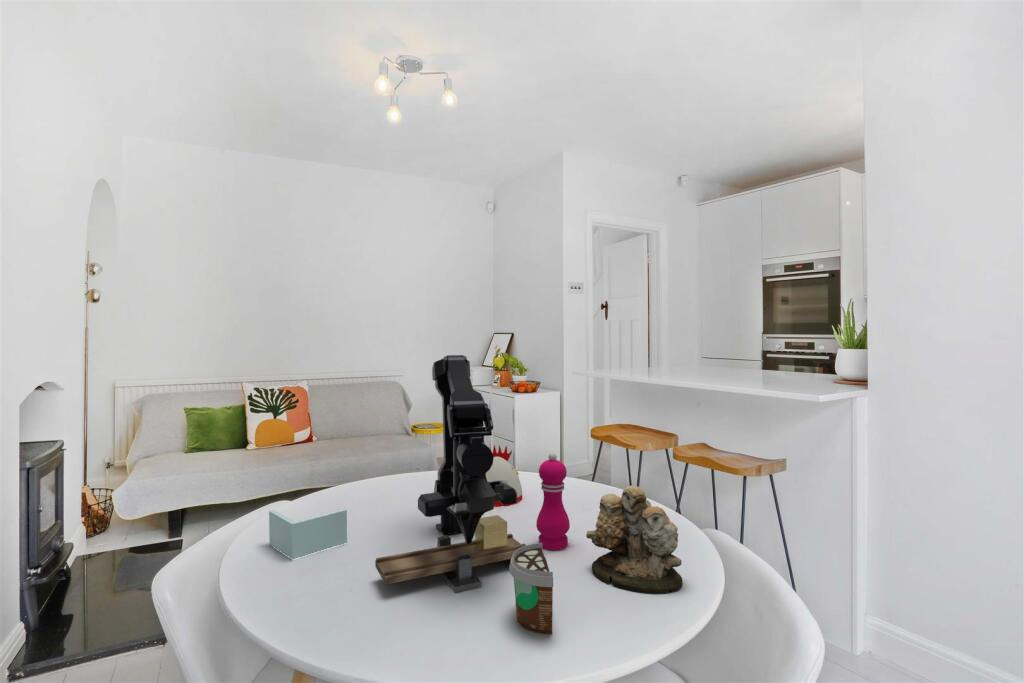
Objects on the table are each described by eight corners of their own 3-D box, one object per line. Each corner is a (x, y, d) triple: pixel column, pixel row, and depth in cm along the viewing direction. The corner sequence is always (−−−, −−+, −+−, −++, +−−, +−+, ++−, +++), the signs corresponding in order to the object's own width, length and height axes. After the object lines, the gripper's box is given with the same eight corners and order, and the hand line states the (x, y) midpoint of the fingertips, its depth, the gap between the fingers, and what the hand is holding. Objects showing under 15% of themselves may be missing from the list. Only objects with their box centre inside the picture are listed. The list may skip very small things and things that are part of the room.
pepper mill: (568, 552, 112) (567, 457, 111) (534, 550, 113) (533, 456, 113) (571, 539, 119) (570, 449, 118) (539, 537, 120) (538, 448, 120)
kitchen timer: (522, 506, 142) (521, 450, 141) (470, 507, 142) (469, 450, 141) (522, 491, 155) (521, 440, 155) (474, 491, 156) (474, 440, 155)
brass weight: (483, 554, 103) (483, 525, 102) (475, 546, 106) (475, 518, 106) (507, 549, 105) (507, 521, 105) (497, 542, 109) (497, 515, 109)
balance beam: (385, 584, 93) (385, 574, 93) (375, 566, 100) (375, 557, 100) (527, 555, 105) (527, 546, 105) (509, 541, 112) (509, 532, 112)
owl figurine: (577, 580, 99) (576, 489, 99) (596, 557, 110) (596, 474, 110) (677, 601, 91) (676, 501, 91) (688, 573, 102) (687, 484, 102)
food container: (506, 600, 92) (506, 543, 92) (542, 599, 92) (541, 541, 92) (512, 642, 80) (512, 575, 79) (553, 639, 80) (553, 573, 80)
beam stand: (455, 592, 95) (454, 564, 95) (429, 560, 108) (428, 536, 108) (536, 573, 102) (536, 547, 102) (502, 545, 115) (502, 522, 115)
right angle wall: (347, 544, 117) (346, 510, 117) (292, 561, 109) (292, 524, 109) (321, 530, 126) (321, 498, 126) (269, 544, 117) (269, 510, 117)
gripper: (434, 478, 92) (435, 568, 92) (530, 466, 100) (530, 549, 101) (416, 464, 102) (417, 546, 102) (504, 454, 110) (505, 530, 111)
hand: (468, 543), depth 104 cm, fingers closed
